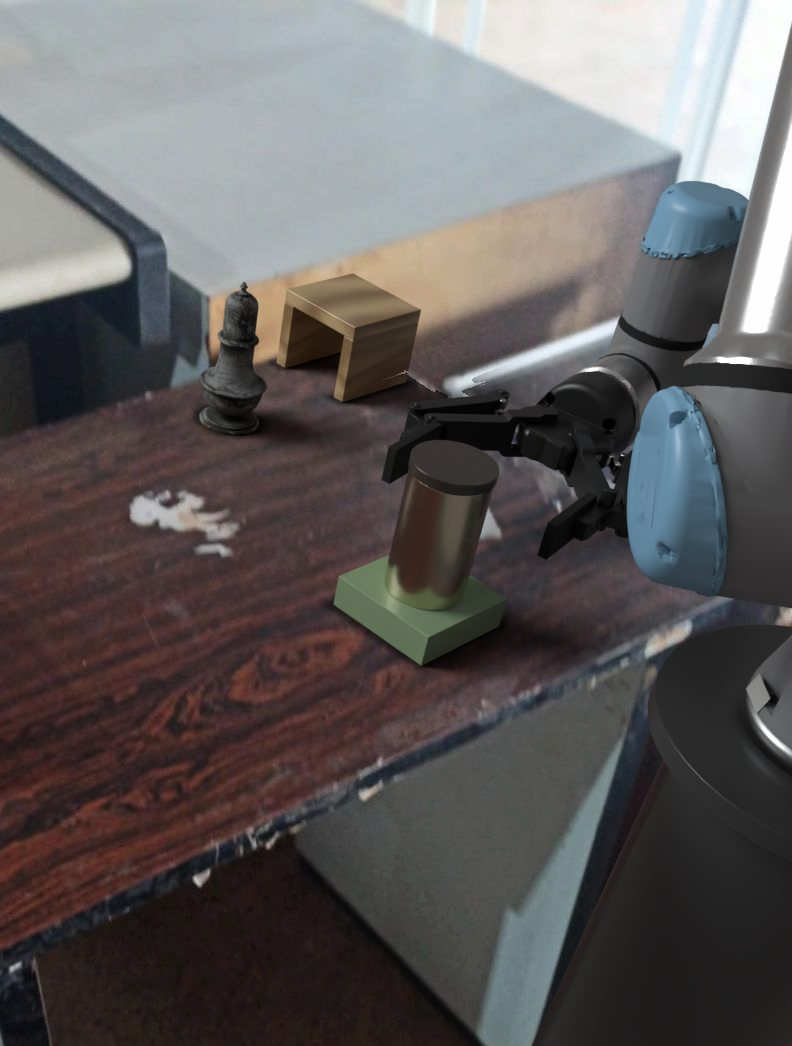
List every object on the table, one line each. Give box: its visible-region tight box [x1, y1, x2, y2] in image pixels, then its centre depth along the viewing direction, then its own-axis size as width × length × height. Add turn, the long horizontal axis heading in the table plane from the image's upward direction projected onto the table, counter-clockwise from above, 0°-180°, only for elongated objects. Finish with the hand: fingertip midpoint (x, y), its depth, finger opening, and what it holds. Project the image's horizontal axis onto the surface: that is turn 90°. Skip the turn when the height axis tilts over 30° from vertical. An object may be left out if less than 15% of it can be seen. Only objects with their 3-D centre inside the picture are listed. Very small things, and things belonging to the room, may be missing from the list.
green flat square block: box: [333, 554, 508, 667], centre depth 95 cm, size 9×9×2 cm
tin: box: [384, 440, 500, 610], centre depth 91 cm, size 6×6×10 cm
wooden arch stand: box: [276, 273, 422, 403], centre depth 121 cm, size 9×9×7 cm
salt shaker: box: [199, 281, 268, 436], centre depth 109 cm, size 6×6×12 cm
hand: (465, 502), depth 93 cm, fingers open, 13 cm apart
